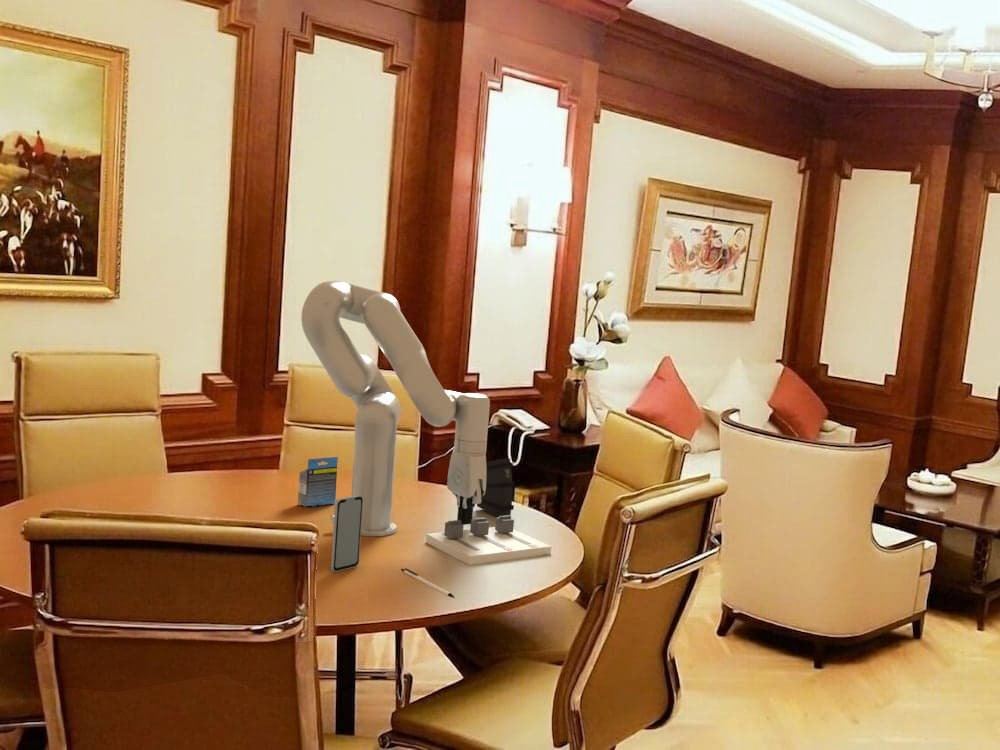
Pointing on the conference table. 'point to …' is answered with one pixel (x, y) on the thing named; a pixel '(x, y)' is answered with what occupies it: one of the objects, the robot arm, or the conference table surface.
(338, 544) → the smartphone
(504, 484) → the black upright block
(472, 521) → the tab middle
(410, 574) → the pen
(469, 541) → the switch panel
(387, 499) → the robot arm
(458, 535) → the tab left
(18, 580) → the conference table surface
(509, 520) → the tab right
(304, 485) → the label tape cartridge
